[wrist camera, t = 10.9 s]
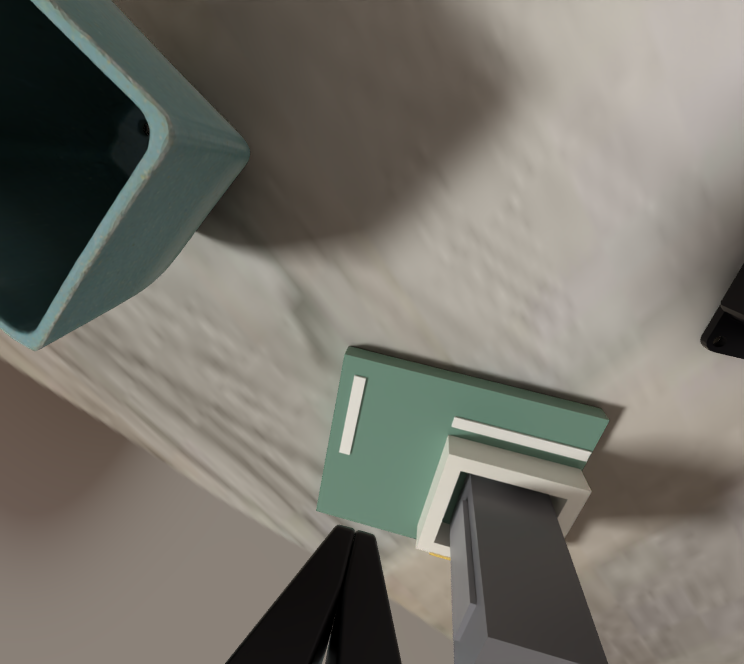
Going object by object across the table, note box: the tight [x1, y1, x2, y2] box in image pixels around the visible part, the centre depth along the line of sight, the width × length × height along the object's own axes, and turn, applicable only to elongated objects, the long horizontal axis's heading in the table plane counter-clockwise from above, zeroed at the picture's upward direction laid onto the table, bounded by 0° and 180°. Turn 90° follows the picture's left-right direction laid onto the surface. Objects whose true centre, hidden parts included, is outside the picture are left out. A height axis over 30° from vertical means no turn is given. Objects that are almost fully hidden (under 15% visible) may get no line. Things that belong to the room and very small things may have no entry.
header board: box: [316, 346, 609, 560], centre depth 20 cm, size 13×11×2 cm
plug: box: [450, 473, 608, 664], centre depth 16 cm, size 4×4×9 cm
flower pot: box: [0, 0, 250, 351], centre depth 13 cm, size 9×9×9 cm
